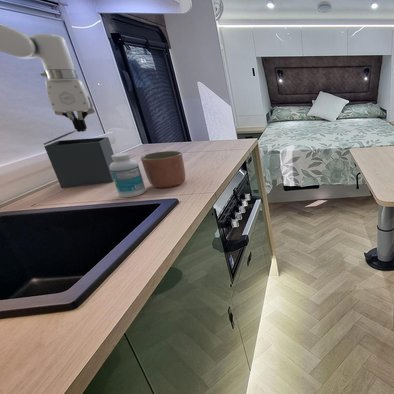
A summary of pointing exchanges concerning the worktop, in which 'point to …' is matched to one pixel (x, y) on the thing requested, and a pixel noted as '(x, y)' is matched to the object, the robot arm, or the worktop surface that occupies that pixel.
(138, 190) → the pill bottle
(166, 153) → the planter
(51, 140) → the flap
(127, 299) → the worktop surface
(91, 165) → the carton
